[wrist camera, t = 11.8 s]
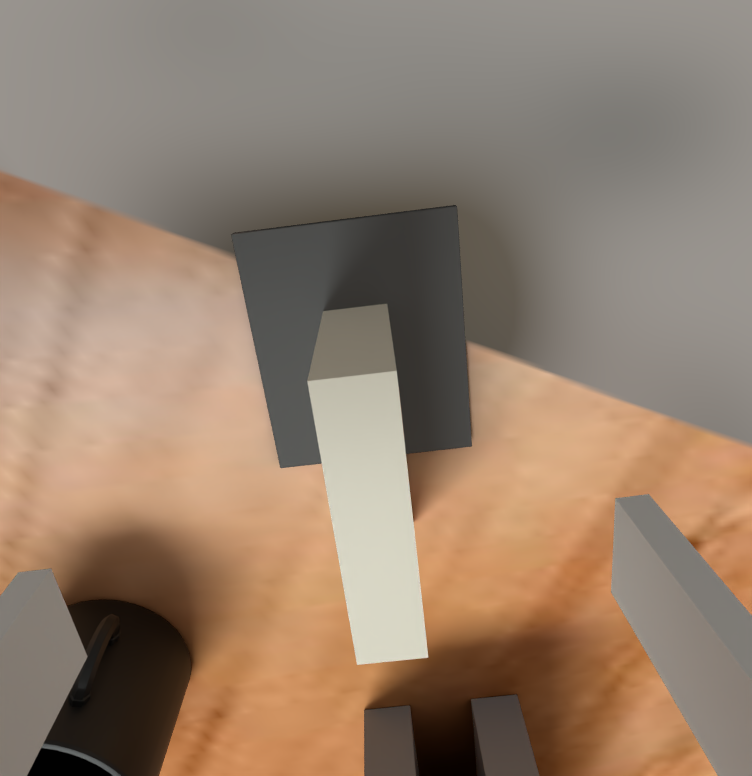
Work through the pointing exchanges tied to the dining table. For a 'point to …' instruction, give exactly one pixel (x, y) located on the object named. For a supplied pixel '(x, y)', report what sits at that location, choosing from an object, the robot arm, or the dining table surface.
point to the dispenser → (491, 738)
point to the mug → (118, 695)
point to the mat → (357, 289)
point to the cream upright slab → (368, 481)
